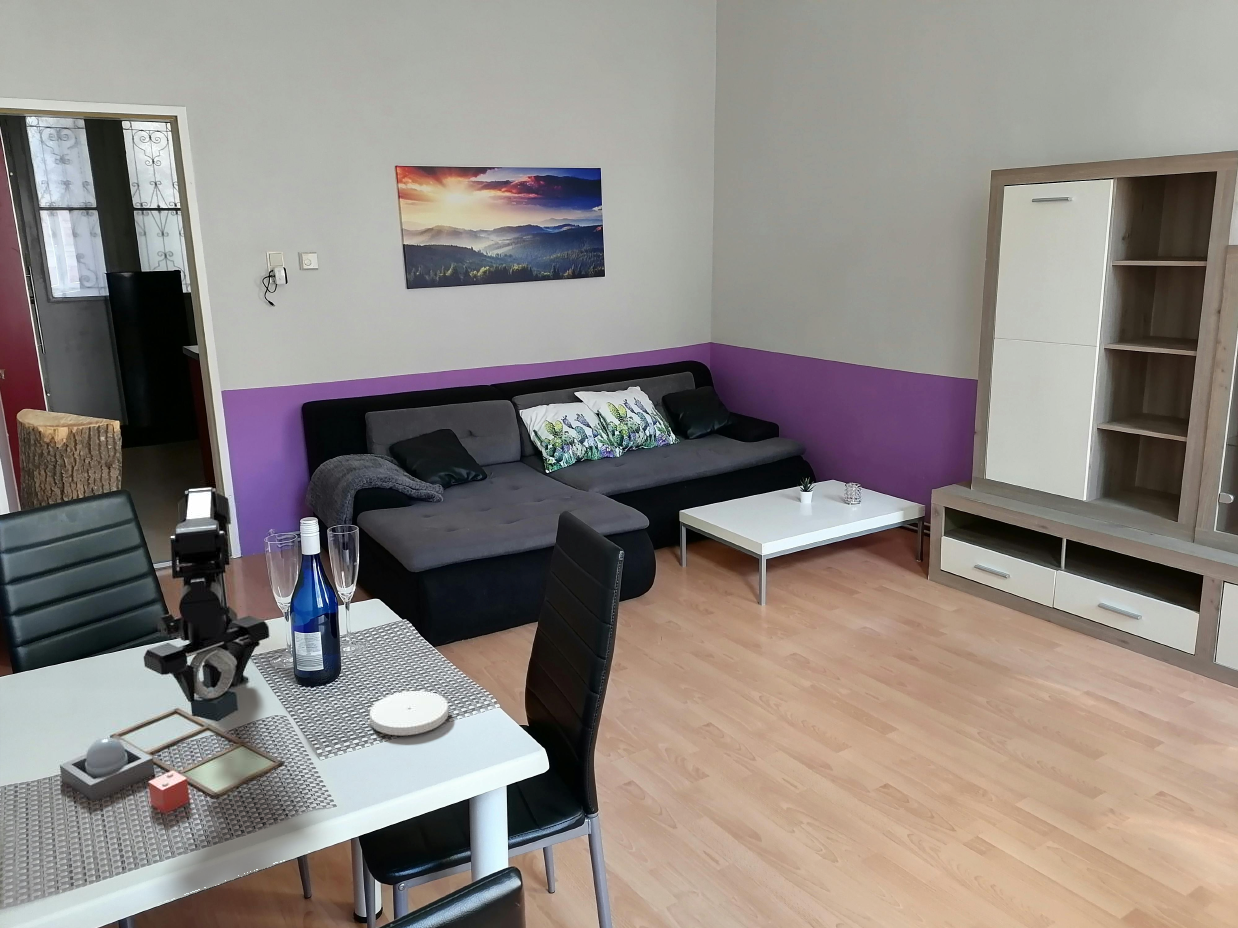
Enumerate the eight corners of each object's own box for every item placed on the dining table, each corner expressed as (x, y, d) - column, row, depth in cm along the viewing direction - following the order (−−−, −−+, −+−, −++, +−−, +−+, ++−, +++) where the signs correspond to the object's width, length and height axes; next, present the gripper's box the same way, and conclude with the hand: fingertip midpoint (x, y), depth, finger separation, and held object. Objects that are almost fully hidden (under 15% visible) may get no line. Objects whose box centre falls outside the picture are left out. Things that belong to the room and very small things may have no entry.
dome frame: (123, 755, 162) (121, 739, 162) (154, 773, 157) (152, 757, 156) (62, 781, 154) (59, 764, 154) (92, 802, 149) (90, 785, 148)
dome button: (116, 757, 159) (112, 726, 158) (135, 768, 156) (131, 737, 155) (79, 773, 155) (75, 741, 153) (98, 785, 151) (93, 753, 150)
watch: (246, 704, 159) (240, 643, 157) (209, 726, 152) (203, 661, 149) (220, 699, 161) (214, 638, 159) (183, 720, 154) (176, 656, 152)
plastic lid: (464, 716, 176) (464, 704, 176) (406, 748, 165) (406, 735, 165) (412, 696, 184) (411, 684, 184) (354, 725, 173) (353, 712, 173)
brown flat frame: (177, 709, 178) (177, 707, 178) (283, 763, 160) (283, 761, 160) (110, 737, 168) (109, 735, 168) (214, 798, 150) (214, 795, 150)
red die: (175, 792, 151) (172, 769, 150) (189, 801, 149) (186, 777, 148) (151, 804, 148) (148, 780, 147) (165, 813, 146) (162, 789, 145)
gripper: (229, 577, 164) (237, 661, 168) (120, 609, 150) (132, 700, 153) (267, 589, 158) (275, 677, 161) (157, 624, 143) (169, 720, 147)
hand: (214, 692), depth 156 cm, fingers closed on watch, 8 cm apart
